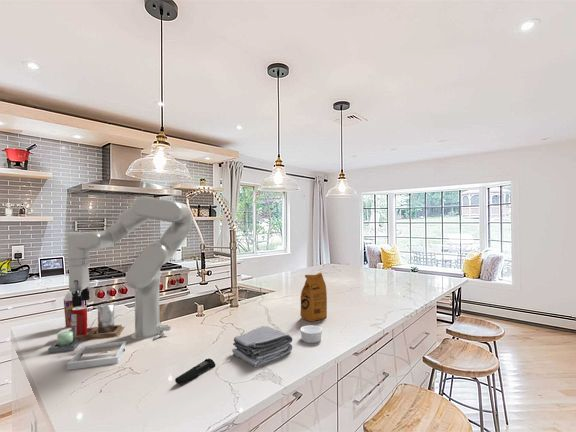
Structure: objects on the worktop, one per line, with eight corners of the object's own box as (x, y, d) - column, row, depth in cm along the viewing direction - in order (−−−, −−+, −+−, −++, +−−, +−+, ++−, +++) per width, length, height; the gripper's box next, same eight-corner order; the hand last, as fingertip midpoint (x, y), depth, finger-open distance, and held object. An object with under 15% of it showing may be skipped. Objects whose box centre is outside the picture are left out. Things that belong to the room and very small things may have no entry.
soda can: (90, 333, 133) (89, 305, 133) (82, 338, 128) (81, 309, 128) (76, 333, 133) (76, 305, 133) (68, 338, 128) (68, 309, 128)
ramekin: (324, 336, 130) (324, 326, 130) (319, 345, 122) (319, 334, 122) (303, 334, 133) (303, 324, 133) (297, 342, 125) (297, 331, 125)
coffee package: (297, 317, 155) (297, 273, 155) (316, 313, 163) (316, 270, 163) (310, 323, 147) (310, 276, 147) (329, 317, 155) (329, 273, 155)
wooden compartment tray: (124, 329, 141) (124, 323, 141) (118, 339, 129) (118, 333, 129) (68, 334, 135) (68, 328, 135) (56, 346, 122) (56, 339, 122)
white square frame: (126, 346, 123) (126, 341, 123) (117, 363, 108) (117, 357, 108) (82, 351, 118) (82, 345, 118) (67, 369, 104) (67, 363, 104)
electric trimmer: (171, 386, 94) (171, 376, 94) (208, 364, 107) (207, 355, 107) (180, 390, 92) (180, 379, 92) (216, 366, 106) (216, 357, 106)
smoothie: (74, 330, 140) (74, 286, 140) (59, 329, 141) (58, 285, 141) (89, 324, 148) (89, 282, 148) (75, 323, 150) (74, 281, 150)
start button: (74, 340, 122) (74, 330, 122) (70, 345, 117) (70, 335, 117) (60, 342, 120) (60, 332, 120) (55, 347, 116) (55, 336, 116)
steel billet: (115, 329, 137) (115, 302, 137) (112, 334, 131) (112, 306, 131) (100, 331, 135) (100, 303, 135) (96, 336, 130) (96, 307, 130)
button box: (81, 345, 124) (81, 337, 124) (73, 353, 116) (73, 345, 116) (57, 348, 121) (57, 340, 121) (48, 356, 114) (48, 348, 114)
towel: (294, 353, 116) (294, 331, 116) (253, 369, 104) (253, 345, 104) (269, 341, 127) (268, 321, 127) (229, 354, 115) (229, 333, 115)
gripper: (76, 260, 138) (78, 299, 138) (60, 266, 121) (62, 310, 121) (95, 259, 140) (97, 297, 140) (82, 264, 123) (84, 307, 123)
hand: (81, 303), depth 131 cm, fingers open, 9 cm apart
